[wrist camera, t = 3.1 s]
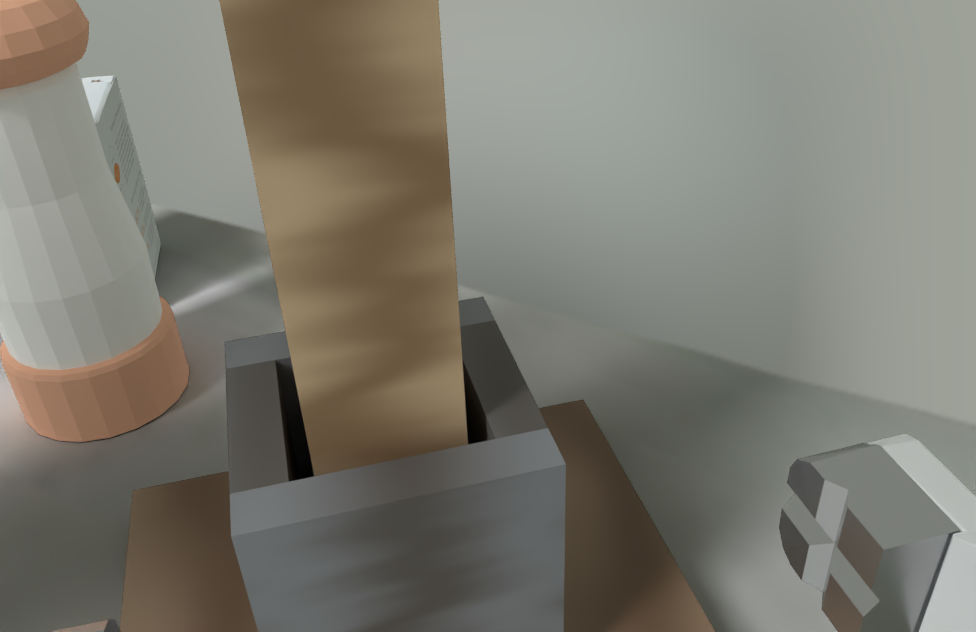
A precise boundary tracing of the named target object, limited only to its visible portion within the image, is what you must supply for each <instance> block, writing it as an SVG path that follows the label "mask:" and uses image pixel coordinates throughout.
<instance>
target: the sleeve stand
mask: <svg viewBox="0 0 976 632" xmlns="http://www.w3.org/2000/svg"><path fill="white" fill-rule="evenodd" d="M458 302H459V317H460V332H461V347H462V362H463V377H464V392H465V407H466V422H467V437H468V445H464V446H459V447H454V448H449V449H444V450H440V451H435V452H430V453H425V454H420V455H415V456H411V457H406V458H401V459H396V460H391V461H387V462H382V463H377V464H372V465H367V466H362V467H358V468H353V469H348V470H343V471H338V472H333V473H329V474H324V475H319V476H314V477H313V470H312V462H311V457H310V452H309V447H308V442H307V437H306V432H305V427H304V422H303V417H302V412H301V407H300V402H299V397H298V392H297V387H296V382H295V377H294V372H293V367H292V362H291V357H290V352H289V347H288V342H287V337H286V332H285V331H284V332H278V333H273V334H267V335H261V336H256V337H250V338H244V339H238V340H233V341H227V342H225V364H226V395H227V426H228V457H229V471H227V472H222V473H217V474H212V475H207V476H202V477H197V478H193V479H188V480H183V481H178V482H173V483H168V484H163V485H158V486H153V487H148V488H143V489H138V490H133V495H132V505H131V515H130V526H129V536H128V547H127V557H126V568H125V578H124V589H123V599H122V610H121V620H120V631H121V632H715V630H714V628H713V627H712V625H711V623H710V621H709V620H708V618H707V616H706V614H705V613H704V611H703V609H702V607H701V606H700V604H699V602H698V600H697V599H696V597H695V595H694V593H693V592H692V590H691V588H690V586H689V585H688V583H687V581H686V579H685V577H684V576H683V574H682V572H681V570H680V569H679V567H678V565H677V563H676V562H675V560H674V558H673V556H672V555H671V553H670V551H669V549H668V548H667V546H666V544H665V542H664V541H663V539H662V537H661V535H660V534H659V532H658V530H657V528H656V526H655V525H654V523H653V521H652V519H651V518H650V516H649V514H648V512H647V511H646V509H645V507H644V505H643V504H642V502H641V500H640V498H639V497H638V495H637V493H636V491H635V490H634V488H633V486H632V484H631V482H630V481H629V479H628V477H627V475H626V474H625V472H624V470H623V468H622V467H621V465H620V463H619V461H618V460H617V458H616V456H615V454H614V453H613V451H612V449H611V447H610V446H609V444H608V442H607V440H606V439H605V437H604V435H603V433H602V431H601V430H600V428H599V426H598V424H597V423H596V421H595V419H594V417H593V416H592V414H591V412H590V410H589V409H588V407H587V405H586V403H585V402H584V400H578V401H573V402H568V403H563V404H558V405H553V406H548V407H543V408H538V407H537V405H536V403H535V401H534V398H533V396H532V394H531V392H530V390H529V388H528V386H527V384H526V382H525V380H524V378H523V376H522V374H521V372H520V370H519V368H518V366H517V364H516V362H515V360H514V358H513V356H512V354H511V352H510V350H509V348H508V346H507V344H506V342H505V340H504V338H503V336H502V334H501V332H500V330H499V328H498V326H497V324H496V322H495V320H494V318H493V316H492V314H491V312H490V309H489V307H488V305H487V303H486V301H485V299H484V297H479V298H473V299H467V300H462V301H458Z"/></svg>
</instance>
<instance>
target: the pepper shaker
mask: <svg viewBox="0 0 976 632" xmlns="http://www.w3.org/2000/svg"><path fill="white" fill-rule="evenodd" d="M88 35H89V22H88V20H87V18H86V17H85V15H84V13H83V11H82V10H81V8H80V7H79V4H78V3H77V2H76V0H0V334H1V336H2V338H3V342H2V344H1V347H0V355H1V360H2V365H3V367H4V370H5V372H6V374H7V377H8V379H9V381H10V384H11V386H12V388H13V391H14V393H15V395H16V398H17V400H18V403H19V405H20V407H21V410H22V412H23V414H24V417H25V419H26V421H27V423H28V424H29V425H30V426H31V427H32V428H33V429H34V430H35V431H36V432H37V433H38V434H40V435H43V436H46V437H49V438H51V439H54V440H57V441H74V442H86V441H92V440H98V439H105V438H111V437H114V436H117V435H119V434H122V433H125V432H128V431H131V430H134V429H137V428H139V427H141V426H142V425H144V424H146V423H148V422H150V421H151V420H153V419H155V418H157V417H159V416H160V415H162V414H163V413H164V412H165V411H166V410H167V409H168V408H170V407H171V406H172V405H173V404H174V403H175V402H176V401H178V399H179V398H180V396H181V394H182V393H183V391H184V390H185V388H186V386H187V385H188V378H189V367H188V364H187V360H186V357H185V353H184V349H183V346H182V342H181V339H180V335H179V332H178V328H177V324H176V321H175V317H174V314H173V312H172V310H171V308H170V306H169V304H168V302H167V301H166V300H165V299H164V298H162V297H161V296H159V294H158V290H157V286H156V282H155V278H154V274H153V270H152V266H151V262H150V258H149V254H148V250H147V246H146V243H145V241H144V239H143V237H142V235H141V233H140V231H139V228H138V226H137V224H136V222H135V220H134V218H133V216H132V214H131V212H130V210H129V208H128V206H127V204H126V202H125V200H124V198H123V196H122V194H121V191H120V189H119V187H118V185H117V183H116V181H115V179H114V177H113V175H112V173H111V171H110V169H109V167H108V164H107V161H106V158H105V155H104V151H103V148H102V145H101V142H100V138H99V135H98V132H97V128H96V125H95V122H94V119H93V115H92V112H91V109H90V106H89V102H88V99H87V96H86V93H85V89H84V86H83V83H82V80H81V76H80V73H79V70H78V67H77V65H76V63H75V62H77V61H78V60H80V59H81V58H82V57H83V55H84V53H85V51H86V48H87V43H88Z"/></svg>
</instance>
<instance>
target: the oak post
mask: <svg viewBox="0 0 976 632" xmlns="http://www.w3.org/2000/svg"><path fill="white" fill-rule="evenodd" d="M219 1H220V5H221V11H222V16H223V21H224V26H225V31H226V36H227V40H228V46H229V50H230V55H231V61H232V66H233V71H234V76H235V81H236V86H237V91H238V96H239V101H240V106H241V111H242V116H243V120H244V126H245V130H246V136H247V141H248V146H249V151H250V156H251V160H252V166H253V170H254V176H255V181H256V186H257V191H258V196H259V201H260V206H261V211H262V216H263V221H264V226H265V231H266V236H267V241H268V246H269V251H270V256H271V261H272V266H273V271H274V276H275V281H276V286H277V291H278V297H279V302H280V307H281V312H282V317H283V322H284V327H285V332H286V337H287V342H288V347H289V352H290V357H291V362H292V367H293V372H294V377H295V382H296V387H297V392H298V397H299V402H300V407H301V412H302V417H303V422H304V427H305V432H306V437H307V442H308V447H309V452H310V457H311V462H312V470H313V477H314V476H319V475H324V474H329V473H333V472H338V471H343V470H348V469H353V468H358V467H362V466H367V465H372V464H377V463H382V462H387V461H391V460H396V459H401V458H406V457H411V456H415V455H420V454H425V453H430V452H435V451H440V450H444V449H449V448H454V447H459V446H464V445H468V437H467V422H466V407H465V392H464V377H463V362H462V347H461V332H460V317H459V302H458V287H457V272H456V258H455V244H454V228H453V215H452V214H453V213H452V198H451V184H450V168H449V154H448V141H447V140H448V138H447V123H446V108H445V94H444V79H443V63H442V48H441V34H440V19H439V4H438V0H219Z"/></svg>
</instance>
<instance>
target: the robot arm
mask: <svg viewBox="0 0 976 632" xmlns="http://www.w3.org/2000/svg"><path fill="white" fill-rule="evenodd" d="M787 483H788V484H789V486H790V487H791V488H792V490H793V491H794V492H795V494H794V495H793V496H792V497H791V498H790V500H789V501H788V502H787V503H786V504H785V505H784V506H783V508H782V512H781V519H780V526H779V529H780V534H781V539H782V544H783V549H784V551H785V553H786V555H787V557H788V560H789V562H790V564H791V566H792V567H793V569H794V570H795V571H796V573H797V574H798V576H799V577H800V579H801V580H802V581H804V582H806V583H807V584H809V585H811V586H813V587H815V588H817V589H819V590H821V591H823V597H822V610H823V611H824V613H825V614H826V616H827V617H828V618H829V620H830V621H831V622H832V624H833V625H834V627H835V628H836V629H837V631H838V632H976V496H975V495H974V494H973V493H972V492H971V491H970V490H969V489H968V488H967V487H966V486H965V485H964V484H963V483H962V482H961V481H959V480H958V479H957V478H956V477H955V476H954V475H953V474H952V473H951V472H950V471H949V470H948V469H947V468H946V467H945V466H944V465H943V464H942V463H941V462H940V461H939V460H938V459H937V458H936V457H935V456H934V455H933V454H932V453H931V452H930V451H929V450H928V449H927V448H926V447H925V446H924V445H923V444H922V443H921V442H920V441H918V440H917V439H916V438H914V437H912V436H910V435H907V434H902V435H897V436H893V437H889V438H885V439H880V440H876V441H872V442H869V443H861V444H857V445H853V446H849V447H845V448H841V449H837V450H833V451H829V452H825V453H821V454H817V455H812V456H808V457H804V458H800V459H797V460H796V461H795V462H794V464H793V465H792V466H791V467H790V471H789V476H788V481H787ZM50 632H121V631H120V629H119V627H118V625H117V623H116V621H115V620H109V619H108V620H104V621H99V622H94V623H89V624H84V625H79V626H75V627H70V628H65V629H60V630H55V631H50Z"/></svg>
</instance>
